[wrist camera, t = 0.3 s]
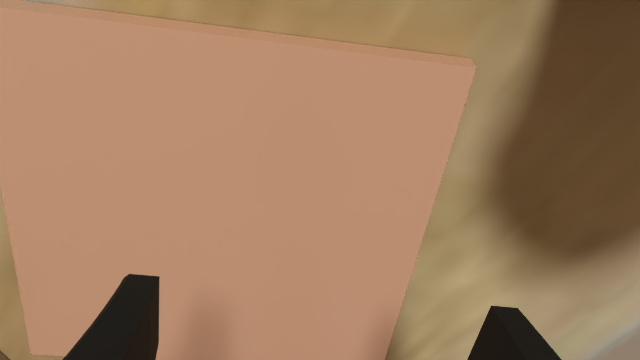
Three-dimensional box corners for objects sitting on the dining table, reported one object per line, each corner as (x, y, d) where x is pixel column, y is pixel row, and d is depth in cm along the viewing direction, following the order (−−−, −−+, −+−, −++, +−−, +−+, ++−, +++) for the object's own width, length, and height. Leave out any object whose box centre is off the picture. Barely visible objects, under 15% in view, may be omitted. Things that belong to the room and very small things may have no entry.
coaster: (377, 363, 29) (379, 377, 29) (37, 340, 27) (30, 354, 27) (470, 58, 20) (476, 68, 20) (-22, -6, 19) (-33, 2, 18)
